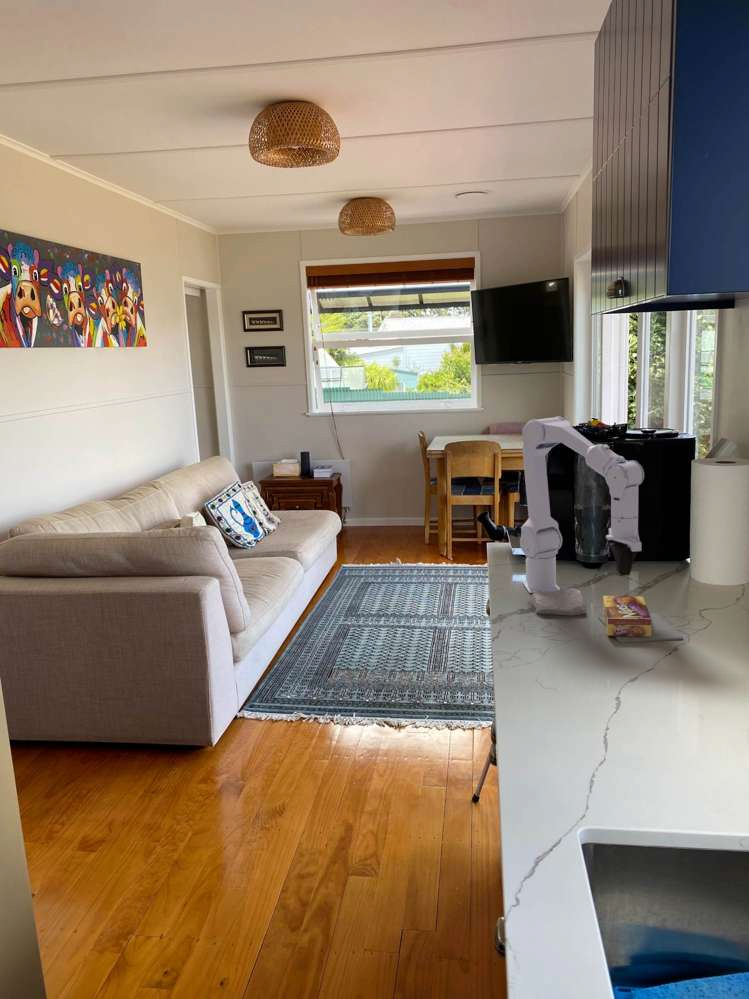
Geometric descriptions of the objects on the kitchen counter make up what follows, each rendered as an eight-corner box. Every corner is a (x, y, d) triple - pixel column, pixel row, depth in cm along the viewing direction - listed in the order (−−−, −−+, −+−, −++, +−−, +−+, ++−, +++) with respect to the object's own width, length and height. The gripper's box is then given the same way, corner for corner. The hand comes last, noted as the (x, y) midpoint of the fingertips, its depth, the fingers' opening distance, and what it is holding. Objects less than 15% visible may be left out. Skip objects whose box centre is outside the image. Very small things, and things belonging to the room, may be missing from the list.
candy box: (602, 613, 171) (606, 636, 156) (602, 595, 170) (606, 616, 155) (643, 614, 168) (651, 637, 154) (643, 596, 168) (651, 617, 153)
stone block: (588, 622, 171) (579, 601, 180) (588, 604, 169) (579, 583, 179) (536, 626, 172) (530, 604, 181) (536, 608, 170) (529, 586, 180)
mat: (598, 618, 168) (598, 616, 168) (656, 615, 168) (656, 613, 168) (620, 642, 153) (620, 641, 153) (683, 639, 153) (683, 637, 153)
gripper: (595, 510, 173) (595, 566, 175) (618, 524, 159) (618, 585, 161) (625, 508, 173) (625, 564, 176) (651, 521, 159) (650, 582, 161)
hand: (624, 574), depth 168 cm, fingers closed
